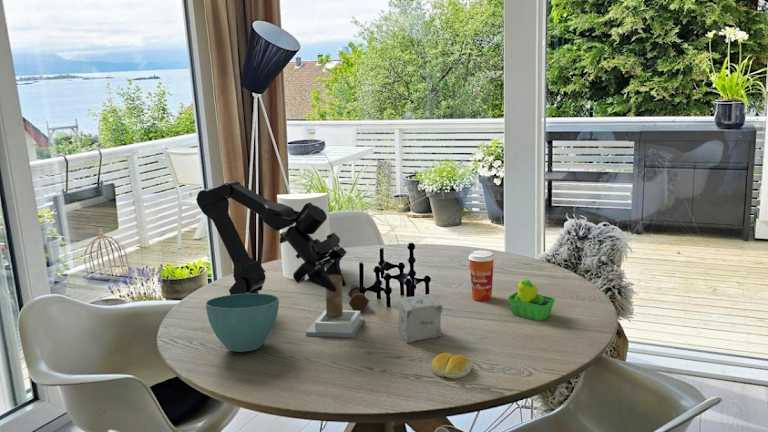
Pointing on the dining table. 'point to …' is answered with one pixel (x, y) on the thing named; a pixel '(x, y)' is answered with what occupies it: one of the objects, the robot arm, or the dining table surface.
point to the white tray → (336, 325)
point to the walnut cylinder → (334, 298)
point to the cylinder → (297, 203)
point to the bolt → (357, 299)
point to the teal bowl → (242, 319)
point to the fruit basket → (530, 302)
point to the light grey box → (419, 317)
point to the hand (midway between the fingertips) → (340, 288)
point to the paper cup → (481, 275)
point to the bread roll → (451, 365)
